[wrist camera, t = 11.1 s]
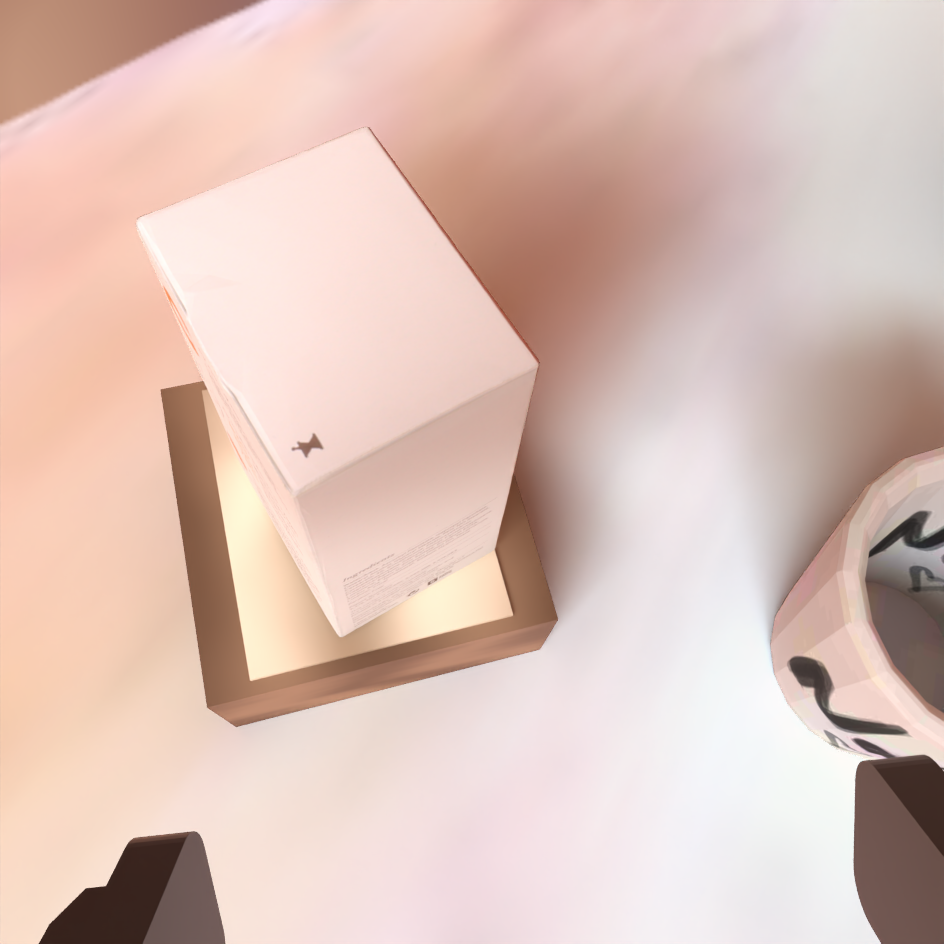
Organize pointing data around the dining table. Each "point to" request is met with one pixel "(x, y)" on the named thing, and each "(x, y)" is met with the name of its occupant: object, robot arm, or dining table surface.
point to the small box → (350, 368)
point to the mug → (873, 622)
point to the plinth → (295, 607)
